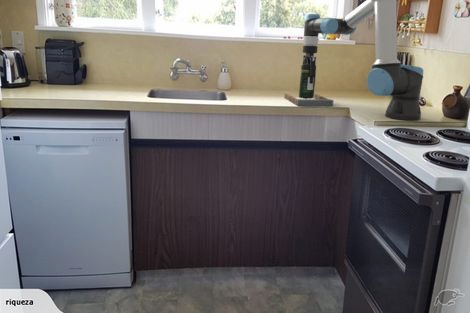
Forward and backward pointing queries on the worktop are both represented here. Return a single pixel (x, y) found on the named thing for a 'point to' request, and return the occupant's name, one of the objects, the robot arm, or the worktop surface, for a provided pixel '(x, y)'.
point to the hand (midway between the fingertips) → (307, 88)
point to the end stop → (314, 102)
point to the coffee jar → (305, 83)
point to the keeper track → (293, 100)
